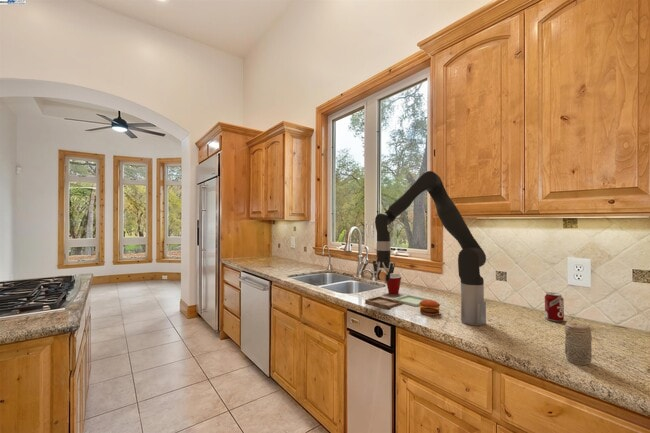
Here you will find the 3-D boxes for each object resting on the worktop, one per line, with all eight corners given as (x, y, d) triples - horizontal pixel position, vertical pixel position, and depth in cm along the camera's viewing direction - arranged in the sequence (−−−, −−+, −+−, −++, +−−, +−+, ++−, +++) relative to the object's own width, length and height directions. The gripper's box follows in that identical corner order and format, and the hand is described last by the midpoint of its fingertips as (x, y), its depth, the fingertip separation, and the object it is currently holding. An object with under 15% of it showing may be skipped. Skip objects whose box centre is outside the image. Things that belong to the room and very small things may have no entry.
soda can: (544, 320, 132) (543, 293, 132) (545, 316, 137) (545, 291, 137) (563, 323, 127) (562, 296, 128) (564, 320, 132) (563, 293, 133)
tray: (402, 305, 156) (402, 301, 156) (388, 309, 149) (388, 306, 149) (379, 299, 169) (379, 296, 169) (365, 303, 161) (365, 299, 161)
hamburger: (419, 310, 148) (419, 297, 148) (440, 312, 145) (439, 298, 145) (418, 315, 139) (418, 301, 140) (440, 318, 136) (440, 303, 136)
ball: (390, 280, 159) (390, 271, 159) (384, 282, 156) (384, 272, 156) (382, 279, 163) (382, 270, 163) (377, 280, 159) (377, 271, 159)
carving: (561, 361, 93) (560, 323, 93) (570, 355, 97) (569, 319, 97) (586, 369, 88) (585, 329, 88) (595, 363, 92) (594, 324, 92)
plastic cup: (380, 293, 183) (380, 274, 183) (394, 291, 188) (394, 273, 188) (391, 297, 173) (391, 277, 174) (405, 295, 178) (405, 275, 178)
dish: (431, 302, 161) (431, 299, 161) (416, 307, 152) (416, 304, 152) (408, 297, 173) (408, 294, 173) (392, 301, 163) (392, 298, 163)
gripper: (398, 250, 156) (398, 281, 156) (377, 248, 167) (377, 277, 167) (389, 250, 151) (390, 283, 151) (368, 248, 162) (369, 279, 162)
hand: (383, 280), depth 159 cm, fingers closed on ball, 5 cm apart
